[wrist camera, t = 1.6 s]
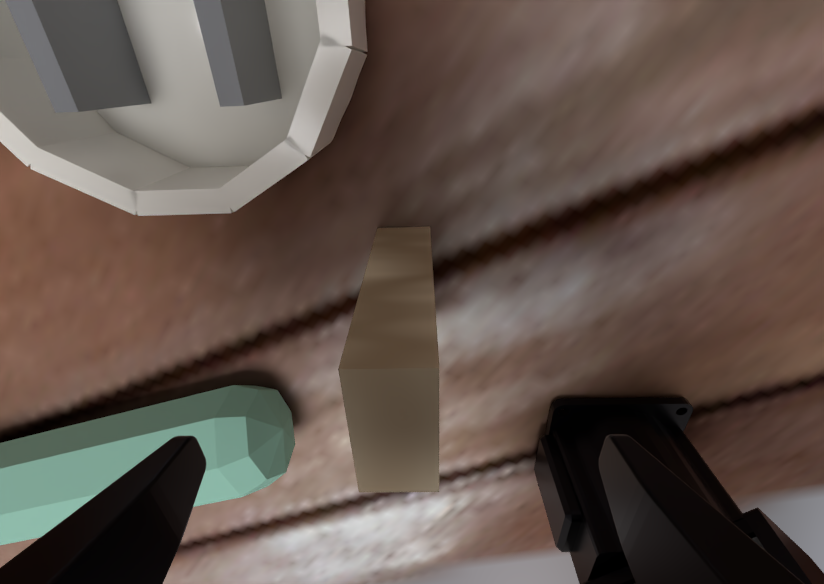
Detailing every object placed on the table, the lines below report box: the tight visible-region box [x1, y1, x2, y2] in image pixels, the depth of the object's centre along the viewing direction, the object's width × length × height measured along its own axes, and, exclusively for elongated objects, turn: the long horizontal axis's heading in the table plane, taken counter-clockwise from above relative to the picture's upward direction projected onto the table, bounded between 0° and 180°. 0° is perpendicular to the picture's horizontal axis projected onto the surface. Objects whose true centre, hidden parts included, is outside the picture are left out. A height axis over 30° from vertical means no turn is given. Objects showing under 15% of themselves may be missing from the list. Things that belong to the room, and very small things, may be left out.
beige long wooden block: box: [338, 227, 439, 492], centre depth 12 cm, size 2×4×8 cm, turn 2°
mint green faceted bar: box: [0, 385, 295, 545], centre depth 19 cm, size 6×6×25 cm
